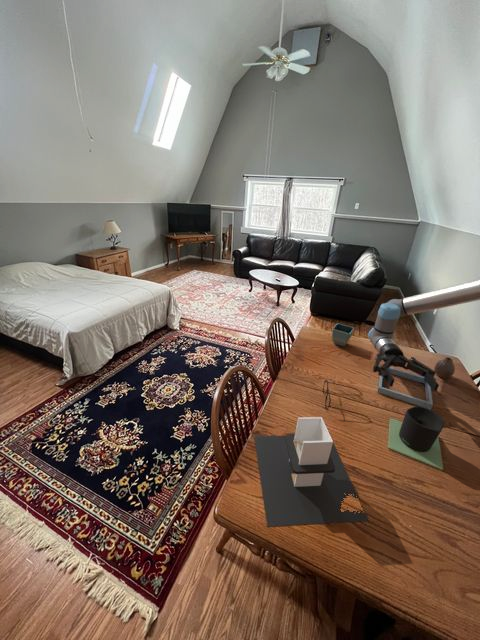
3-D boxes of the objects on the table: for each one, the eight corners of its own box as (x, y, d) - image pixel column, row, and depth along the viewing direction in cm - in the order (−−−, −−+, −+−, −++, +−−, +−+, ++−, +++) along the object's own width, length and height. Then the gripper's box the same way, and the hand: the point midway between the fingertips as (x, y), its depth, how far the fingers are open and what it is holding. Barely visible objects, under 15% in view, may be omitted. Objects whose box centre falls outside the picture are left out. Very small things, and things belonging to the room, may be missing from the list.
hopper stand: (254, 436, 83) (257, 395, 76) (329, 434, 85) (339, 394, 78) (267, 526, 61) (274, 480, 54) (369, 520, 63) (388, 475, 56)
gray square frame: (427, 383, 112) (429, 378, 111) (430, 410, 98) (433, 404, 96) (380, 369, 120) (381, 364, 118) (376, 392, 105) (378, 387, 104)
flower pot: (328, 344, 138) (332, 328, 134) (334, 337, 145) (337, 322, 141) (346, 349, 134) (350, 334, 130) (350, 342, 140) (354, 327, 136)
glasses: (322, 387, 107) (325, 377, 104) (360, 396, 105) (364, 386, 103) (325, 413, 94) (330, 402, 92) (368, 424, 92) (374, 413, 90)
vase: (449, 382, 113) (458, 365, 109) (430, 375, 117) (438, 358, 113) (452, 375, 118) (460, 358, 114) (433, 368, 122) (440, 352, 118)
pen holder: (394, 425, 89) (403, 402, 85) (425, 432, 87) (436, 409, 83) (401, 449, 81) (412, 424, 77) (436, 457, 79) (449, 433, 74)
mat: (437, 436, 87) (438, 434, 86) (442, 470, 76) (443, 469, 75) (389, 418, 93) (390, 417, 92) (387, 448, 81) (388, 447, 81)
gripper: (419, 362, 106) (450, 399, 87) (354, 356, 109) (371, 390, 89) (425, 346, 103) (459, 380, 84) (358, 340, 105) (377, 372, 86)
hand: (414, 385), depth 87 cm, fingers open, 13 cm apart
